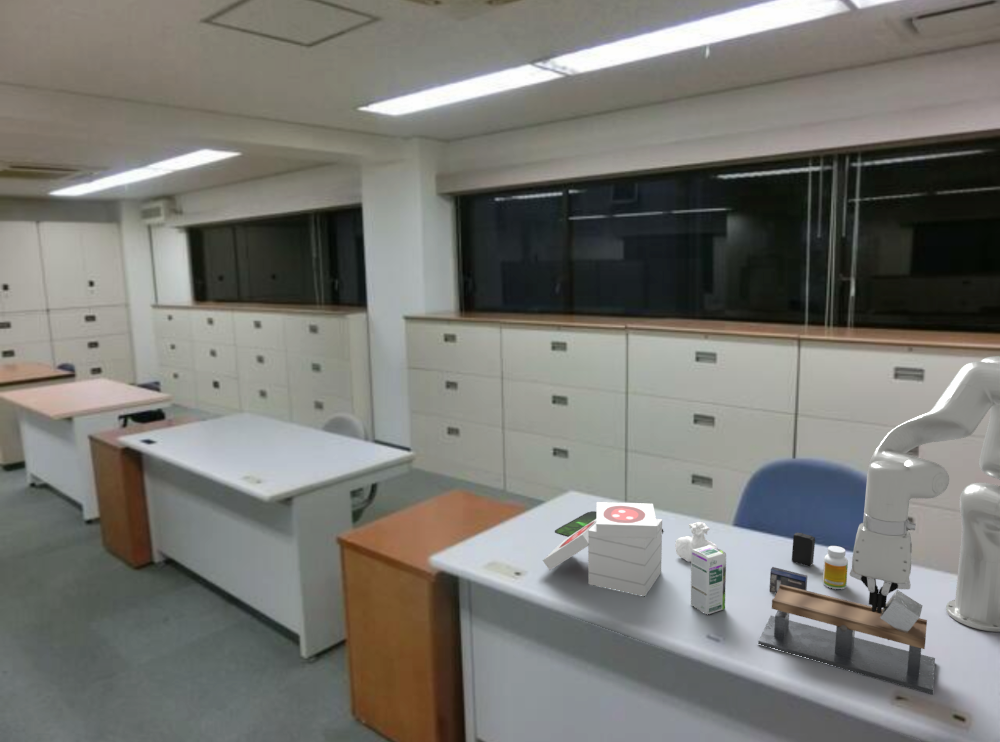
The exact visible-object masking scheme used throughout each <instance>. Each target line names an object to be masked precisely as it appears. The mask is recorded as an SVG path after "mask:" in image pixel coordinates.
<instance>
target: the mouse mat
mask: <svg viewBox="0 0 1000 742" xmlns="http://www.w3.org/2000/svg"><path fill="white" fill-rule="evenodd" d="M596 517H597V511H595V510H594V511H587V512H585V513H584V514H582V515H580V516H578V517H577V518H574V519H573V520H571V521H569V522H567V523H565V524H563V525H562V526H560V527H558V528H556V529H555V530H554V533H556V534H558V535H560V536H563V537H564V536H565V537H567V538H568V537H569V536H571V535H572V534H574V533H575V532H577V531H578V530H580V529H581V528H583V527H584V526H586V525H587V524H589V523H591V522H592V521H594V520H595V519H596ZM663 532H664V529H663V528H662V533H663Z"/></svg>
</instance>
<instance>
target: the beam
mask: <svg viewBox="0 0 1000 742" xmlns="http://www.w3.org/2000/svg"><path fill="white" fill-rule="evenodd" d="M771 609H772V610H775V611H782V612H786V613H789V615H794V616H798V617H802V618H804V619H805V618H806V619H809V620H813V621H818V622H821V623H825V624H828V625H831V626H836V627H837V626H839V627H840V629H841V631H843V632H846V631H847V629H850V630H854V631H855V632H858V633H860V634H861V633H862V634H866V635H870V636H873V637H876V638H881V639H885V640H888V641H892V642H896V643H900V644H903V645H907V646H909V645H910V646H914V647H918V648H921V650H925V649H926V637H927V635H926V634H927V625H928V619H924V618H920V617H919V619H918V620H917V621H916V622H915V624H914V625H913V626H912V627H911V629H910V630H909V631H908V632H907V633H905V632H901V631H899V630H897V629H896V628H894V627H893V626H891V625H890V624H888V623H887V622H885V621H884V620H882V619H881V618H880V616H881V614H882V611H883V608H882V609H881V613H878V612H877V609H876V611H875V612H873V611H872V605H867V604H863V603H859V602H854V601H851V600H847V599H842V598H839V597H834V596H829V595H827V594H821V593H817V592H815V591H809V590H807V591H806V590H802V589H798V588H794V587H790V586H786V585H782V584H780V586H779V589H778V591H777V593H775V595H774V598H772V600H771Z"/></svg>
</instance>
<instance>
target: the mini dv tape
mask: <svg viewBox="0 0 1000 742" xmlns="http://www.w3.org/2000/svg"><path fill="white" fill-rule="evenodd" d="M769 575H770V576H769V592H772V593H775V594H776V593H777V591H778V589H779V586H780V584H782V585H786V586H790V587H794V588H798V589H802V590H806V591H808V589H807V587H808V575H807V574H803V573H799V572H795V571H791V570H787V569H784V568H783V569H782V568H778V567H776V566H772V567H771V568H770V574H769Z"/></svg>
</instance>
